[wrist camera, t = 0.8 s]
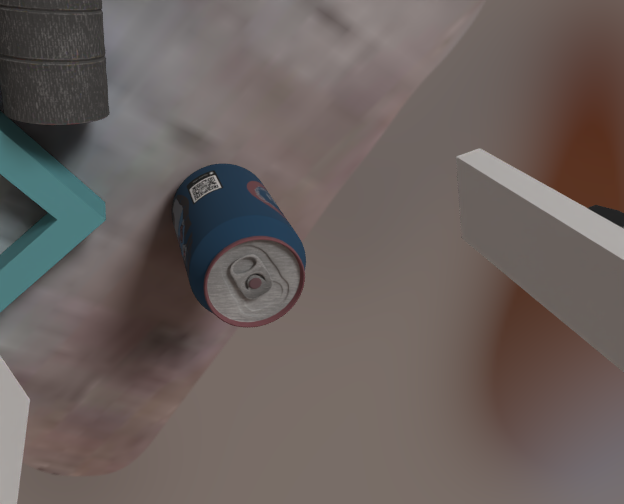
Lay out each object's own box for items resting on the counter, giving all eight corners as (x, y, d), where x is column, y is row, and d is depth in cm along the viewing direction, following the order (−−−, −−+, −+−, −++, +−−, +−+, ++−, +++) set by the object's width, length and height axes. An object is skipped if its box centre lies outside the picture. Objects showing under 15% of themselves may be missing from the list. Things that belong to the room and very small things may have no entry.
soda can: (279, 217, 44) (333, 297, 34) (200, 261, 44) (230, 356, 34) (238, 140, 40) (284, 205, 30) (150, 188, 40) (168, 270, 30)
